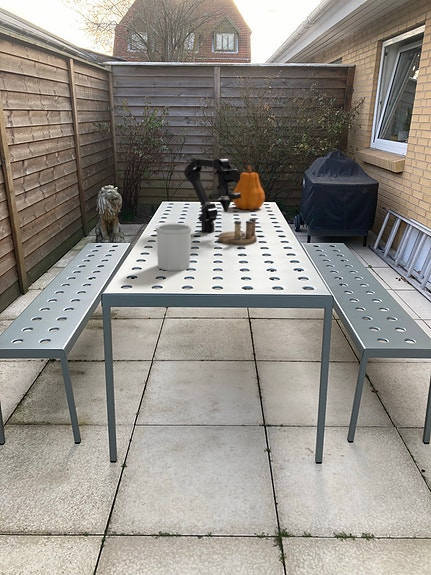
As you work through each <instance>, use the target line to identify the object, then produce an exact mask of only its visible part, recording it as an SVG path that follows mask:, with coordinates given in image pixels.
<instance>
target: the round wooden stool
mask: <svg viewBox="0 0 431 575" xmlns="http://www.w3.org/2000/svg"><path fill="white" fill-rule="evenodd" d="M256 221H257V218H249V219H248V220H246V221H245V231H243V230H242V231H241V233H245V236H242V237H241V238H240V239H235V230H232V231H224V232H220V233H219V234H218V241H219V242H220V243H222V244H226V245H233V246H243V245H245V246H246V245H253V244H255V243H256V242H257V241H258V240H257V239H258V238H257V237H258V235H257V234H256V224H257V223H256ZM241 233H240V235H241Z"/></svg>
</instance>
